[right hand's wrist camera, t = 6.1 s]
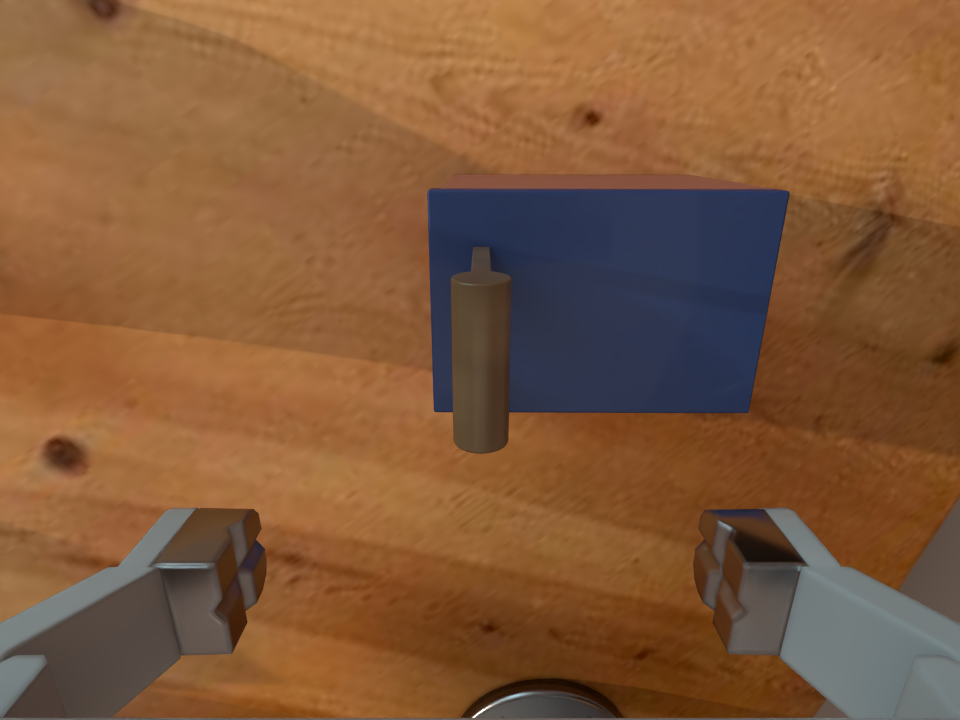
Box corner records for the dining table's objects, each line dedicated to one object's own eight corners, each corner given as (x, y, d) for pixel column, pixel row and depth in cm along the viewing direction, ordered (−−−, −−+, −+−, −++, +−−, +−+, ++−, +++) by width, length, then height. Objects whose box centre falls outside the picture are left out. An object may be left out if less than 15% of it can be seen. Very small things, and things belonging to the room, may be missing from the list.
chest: (454, 332, 38) (445, 401, 28) (452, 174, 34) (440, 188, 24) (669, 332, 37) (737, 402, 28) (689, 174, 34) (776, 188, 24)
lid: (435, 401, 27) (417, 507, 20) (429, 188, 24) (403, 211, 16) (738, 402, 27) (842, 508, 20) (776, 188, 24) (922, 212, 16)
